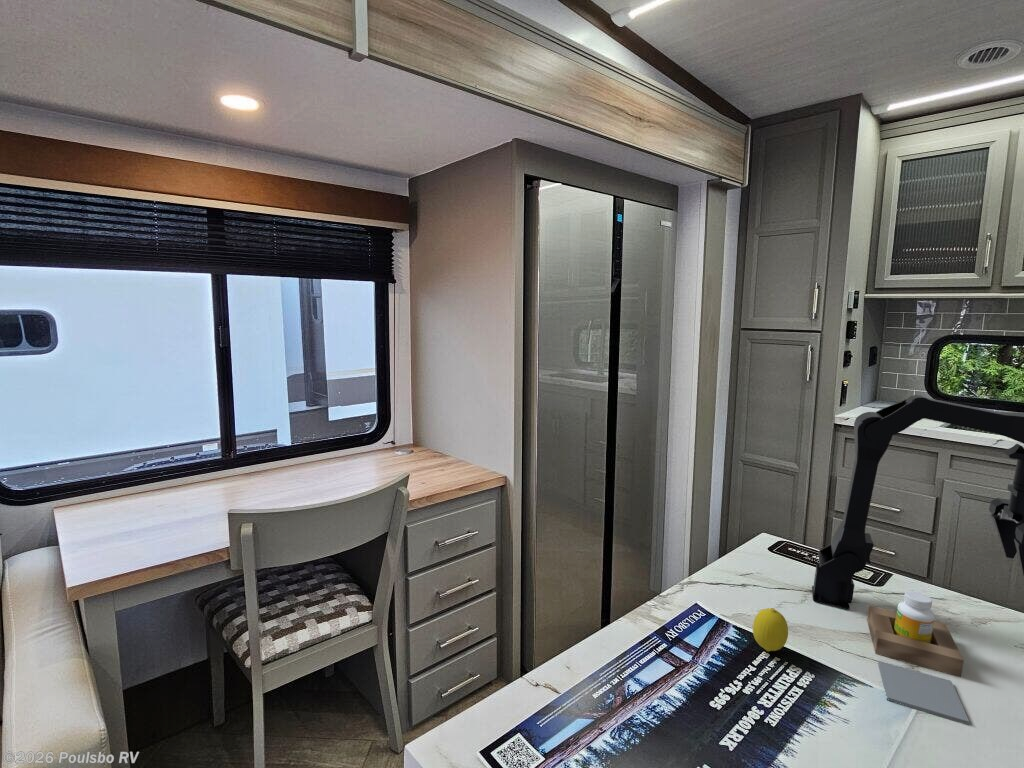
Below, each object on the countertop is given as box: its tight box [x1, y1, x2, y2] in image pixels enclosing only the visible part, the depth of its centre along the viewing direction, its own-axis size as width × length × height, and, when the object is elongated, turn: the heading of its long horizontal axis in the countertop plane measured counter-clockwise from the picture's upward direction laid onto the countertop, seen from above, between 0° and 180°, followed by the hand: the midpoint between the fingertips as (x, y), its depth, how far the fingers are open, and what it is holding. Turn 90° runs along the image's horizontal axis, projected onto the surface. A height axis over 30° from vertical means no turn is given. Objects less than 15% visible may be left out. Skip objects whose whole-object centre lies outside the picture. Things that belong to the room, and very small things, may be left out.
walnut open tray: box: [866, 605, 965, 677], centre depth 98 cm, size 12×12×3 cm
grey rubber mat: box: [877, 660, 970, 725], centre depth 87 cm, size 10×10×1 cm
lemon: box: [752, 607, 789, 653], centre depth 95 cm, size 6×6×8 cm
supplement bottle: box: [894, 590, 936, 643], centre depth 98 cm, size 5×5×10 cm
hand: (1018, 567), depth 99 cm, fingers open, 9 cm apart
